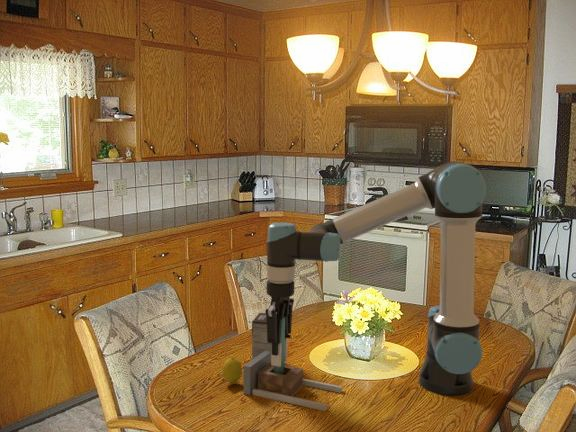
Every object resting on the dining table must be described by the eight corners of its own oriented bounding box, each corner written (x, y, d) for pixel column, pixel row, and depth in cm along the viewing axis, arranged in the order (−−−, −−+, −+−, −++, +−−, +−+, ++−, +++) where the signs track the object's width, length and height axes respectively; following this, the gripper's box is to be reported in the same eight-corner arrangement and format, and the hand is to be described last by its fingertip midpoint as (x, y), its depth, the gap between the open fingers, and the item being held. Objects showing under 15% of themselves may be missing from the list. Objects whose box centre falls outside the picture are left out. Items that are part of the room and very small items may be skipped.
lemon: (233, 390, 170) (234, 362, 169) (218, 385, 173) (218, 358, 172) (245, 383, 175) (245, 356, 174) (230, 378, 178) (230, 352, 177)
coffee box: (258, 361, 192) (259, 311, 189) (278, 363, 190) (279, 313, 188) (251, 372, 183) (251, 321, 180) (271, 374, 181) (272, 322, 179)
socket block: (302, 387, 170) (303, 368, 170) (290, 398, 163) (291, 379, 162) (270, 380, 175) (270, 362, 174) (257, 391, 167) (257, 372, 167)
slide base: (346, 394, 169) (347, 363, 168) (326, 417, 155) (327, 383, 154) (265, 377, 179) (266, 348, 178) (240, 397, 166) (241, 366, 164)
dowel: (285, 372, 169) (287, 316, 167) (281, 376, 167) (282, 319, 164) (276, 370, 170) (277, 315, 168) (271, 374, 168) (272, 318, 165)
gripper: (280, 272, 173) (279, 351, 177) (254, 285, 159) (253, 370, 162) (305, 275, 170) (303, 355, 174) (280, 288, 156) (278, 376, 159)
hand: (279, 363), depth 168 cm, fingers closed on dowel, 3 cm apart
